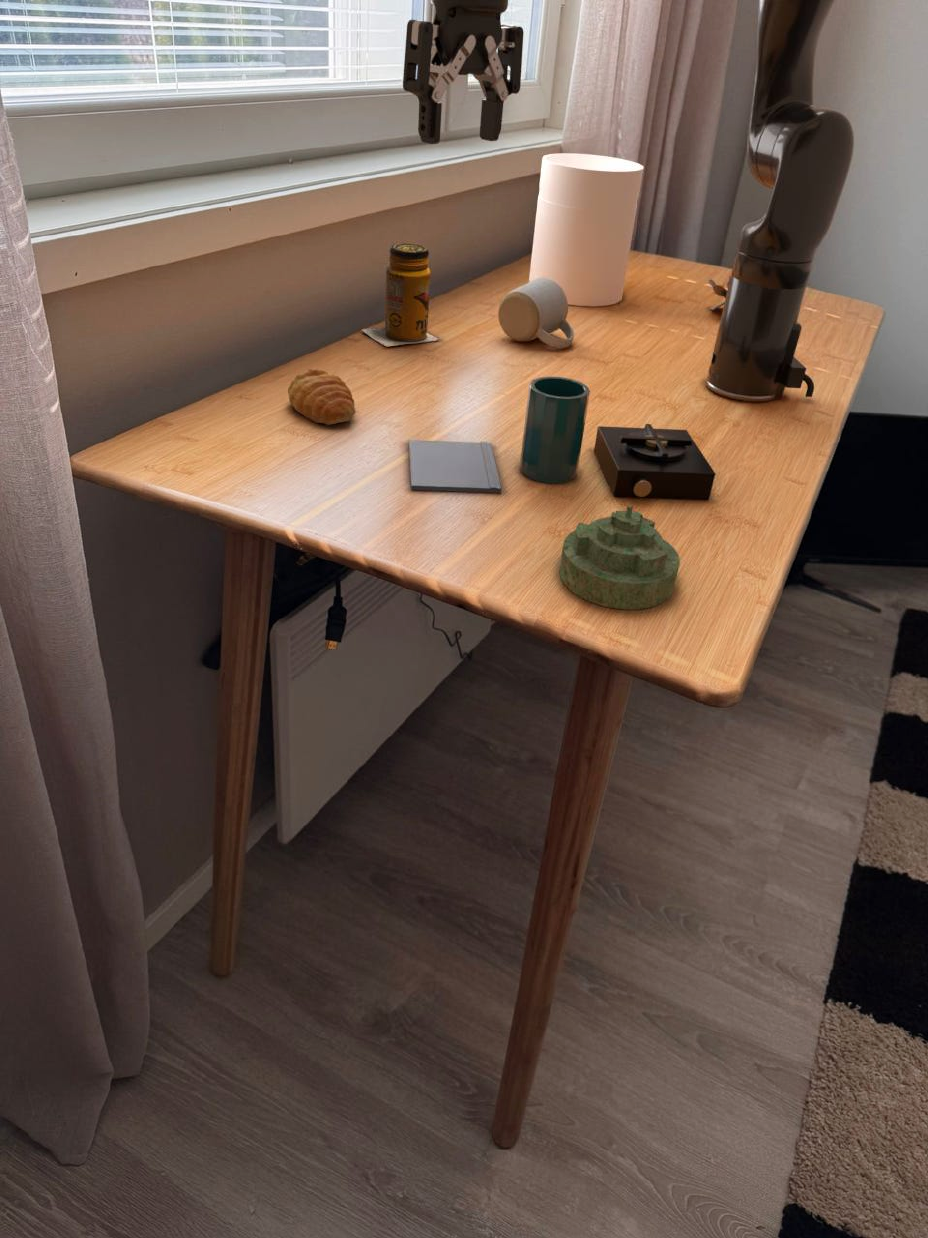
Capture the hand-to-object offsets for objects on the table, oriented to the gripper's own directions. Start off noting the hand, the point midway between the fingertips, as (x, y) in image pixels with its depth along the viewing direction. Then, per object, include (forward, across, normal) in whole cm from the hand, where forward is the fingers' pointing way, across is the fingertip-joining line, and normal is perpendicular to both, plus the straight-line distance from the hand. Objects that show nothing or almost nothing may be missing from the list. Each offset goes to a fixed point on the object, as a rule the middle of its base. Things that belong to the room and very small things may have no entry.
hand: (460, 141), depth 96 cm
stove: (+28, +4, -28) cm, 40 cm away
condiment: (+28, +11, +21) cm, 37 cm away
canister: (+28, +52, +23) cm, 63 cm away
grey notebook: (+28, -12, -14) cm, 34 cm away
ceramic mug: (+28, +28, +10) cm, 41 cm away
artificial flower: (+28, +60, -3) cm, 66 cm away
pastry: (+28, -14, +5) cm, 32 cm away
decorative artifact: (+28, -16, -39) cm, 51 cm away
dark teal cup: (+28, -4, -21) cm, 35 cm away
